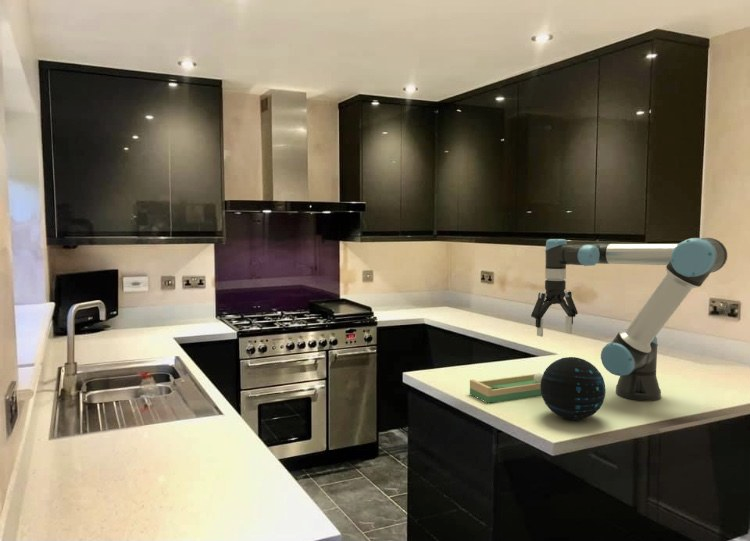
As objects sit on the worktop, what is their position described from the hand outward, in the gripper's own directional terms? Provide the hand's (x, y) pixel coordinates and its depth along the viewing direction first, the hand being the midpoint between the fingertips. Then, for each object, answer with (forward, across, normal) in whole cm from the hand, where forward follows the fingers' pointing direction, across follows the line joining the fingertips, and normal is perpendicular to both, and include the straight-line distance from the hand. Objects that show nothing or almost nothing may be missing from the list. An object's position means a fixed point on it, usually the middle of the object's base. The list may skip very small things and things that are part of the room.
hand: (554, 334), depth 218 cm
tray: (+21, +18, +1) cm, 28 cm away
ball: (+16, +7, 0) cm, 18 cm away
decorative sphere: (+21, +18, +31) cm, 41 cm away
